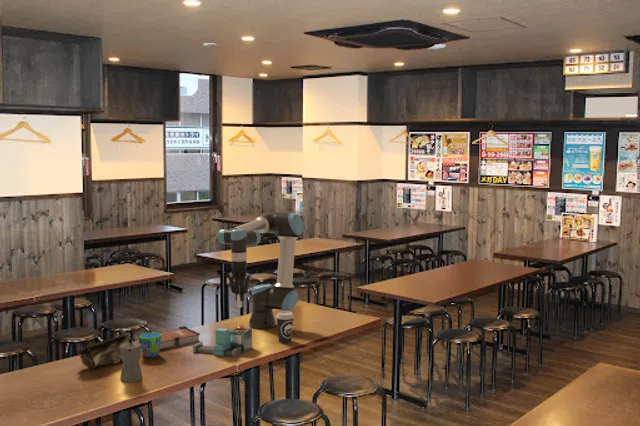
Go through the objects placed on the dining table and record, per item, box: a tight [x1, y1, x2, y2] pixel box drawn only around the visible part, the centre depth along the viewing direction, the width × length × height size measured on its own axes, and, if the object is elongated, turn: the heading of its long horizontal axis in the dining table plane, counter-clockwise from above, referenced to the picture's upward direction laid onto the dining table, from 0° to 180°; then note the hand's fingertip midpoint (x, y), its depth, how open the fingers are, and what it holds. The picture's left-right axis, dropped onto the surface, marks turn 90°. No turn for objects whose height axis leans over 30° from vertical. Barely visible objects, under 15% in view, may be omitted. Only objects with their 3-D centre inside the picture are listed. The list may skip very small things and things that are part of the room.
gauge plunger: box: [235, 325, 245, 331], centre depth 325 cm, size 4×4×6 cm
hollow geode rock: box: [76, 334, 130, 370], centre depth 302 cm, size 28×13×15 cm
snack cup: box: [138, 332, 162, 358], centre depth 315 cm, size 16×10×10 cm
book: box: [138, 325, 201, 351], centre depth 337 cm, size 26×18×5 cm
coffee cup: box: [275, 310, 295, 344], centre depth 338 cm, size 10×10×15 cm
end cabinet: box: [229, 326, 253, 354], centre depth 325 cm, size 9×9×10 cm
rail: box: [192, 341, 242, 358], centre depth 320 cm, size 7×23×3 cm, turn 70°
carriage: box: [213, 327, 231, 357], centre depth 318 cm, size 8×5×12 cm, turn 160°
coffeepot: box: [119, 338, 143, 384], centre depth 283 cm, size 15×9×18 cm, turn 13°
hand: (239, 307), depth 324 cm, fingers closed
